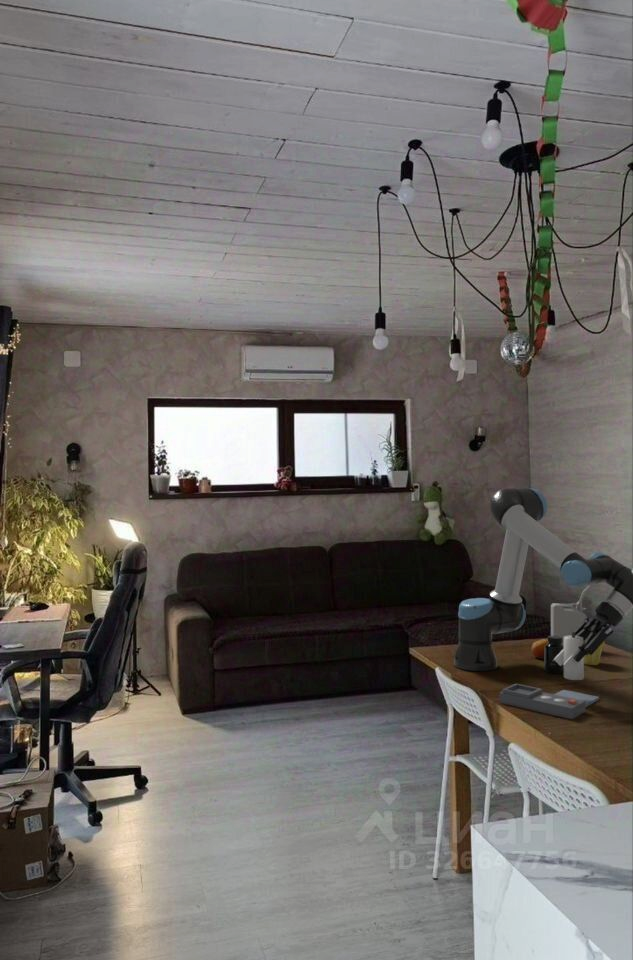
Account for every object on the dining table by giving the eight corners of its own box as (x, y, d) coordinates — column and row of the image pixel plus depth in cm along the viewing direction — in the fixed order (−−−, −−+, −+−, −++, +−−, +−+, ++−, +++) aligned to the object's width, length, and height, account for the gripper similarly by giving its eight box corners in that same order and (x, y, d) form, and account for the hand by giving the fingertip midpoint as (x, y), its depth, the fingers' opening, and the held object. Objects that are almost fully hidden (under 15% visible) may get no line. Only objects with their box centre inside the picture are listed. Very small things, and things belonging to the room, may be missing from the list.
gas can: (590, 647, 279) (590, 584, 279) (593, 650, 274) (593, 586, 274) (550, 646, 281) (550, 583, 281) (553, 649, 276) (553, 585, 276)
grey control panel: (499, 702, 208) (499, 689, 208) (513, 695, 215) (513, 682, 215) (572, 719, 193) (572, 704, 193) (585, 711, 200) (585, 697, 200)
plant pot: (597, 659, 260) (597, 632, 260) (609, 666, 250) (609, 638, 250) (569, 659, 260) (569, 633, 260) (581, 666, 249) (580, 639, 249)
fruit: (556, 658, 256) (544, 637, 258) (537, 666, 260) (525, 646, 262) (561, 653, 263) (549, 634, 265) (542, 662, 266) (531, 642, 269)
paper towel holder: (560, 677, 211) (560, 632, 211) (568, 674, 215) (568, 629, 215) (579, 681, 207) (578, 634, 207) (586, 677, 211) (586, 632, 211)
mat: (547, 700, 210) (547, 697, 210) (563, 692, 218) (563, 689, 218) (584, 708, 203) (584, 705, 203) (599, 699, 211) (599, 696, 211)
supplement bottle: (555, 675, 238) (554, 639, 238) (540, 670, 244) (539, 636, 244) (569, 672, 241) (569, 637, 241) (554, 668, 247) (554, 634, 247)
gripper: (639, 623, 203) (585, 682, 201) (606, 612, 222) (556, 665, 220) (621, 605, 203) (567, 664, 201) (589, 595, 221) (540, 649, 219)
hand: (561, 665), depth 210 cm, fingers closed on paper towel holder, 5 cm apart
